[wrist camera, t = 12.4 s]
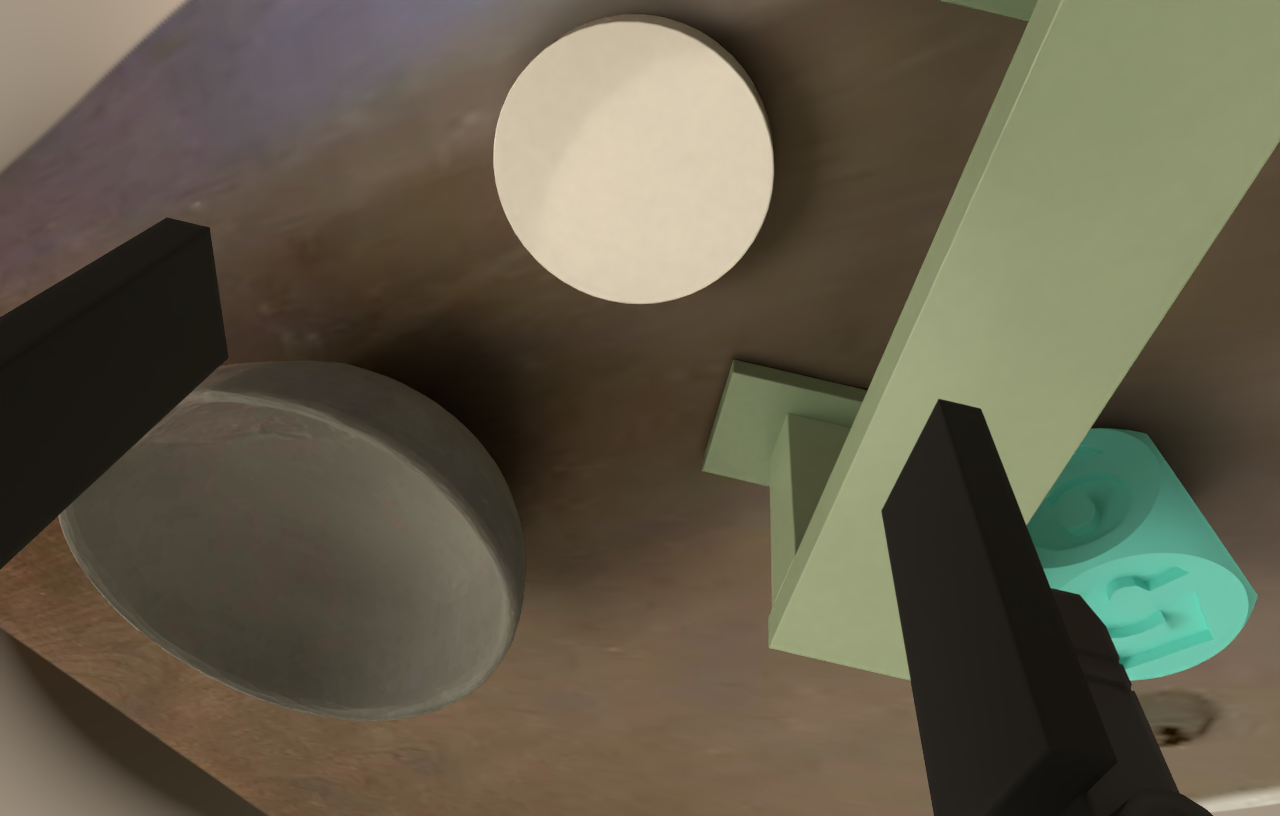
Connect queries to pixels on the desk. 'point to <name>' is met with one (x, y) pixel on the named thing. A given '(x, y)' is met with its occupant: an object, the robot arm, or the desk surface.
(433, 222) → the desk surface
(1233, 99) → the green bench arch
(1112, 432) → the decorative dice
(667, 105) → the plate
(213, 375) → the bowl
